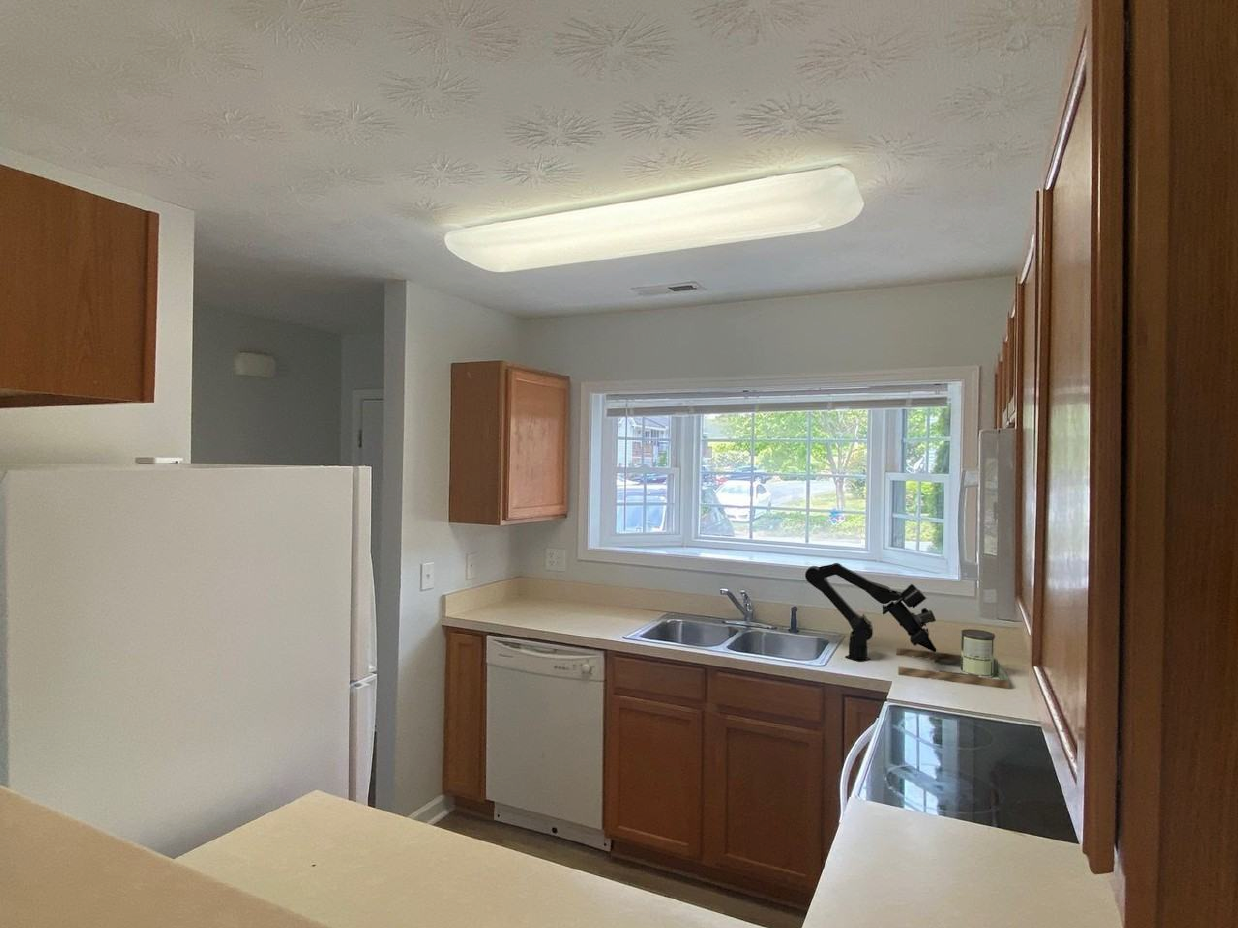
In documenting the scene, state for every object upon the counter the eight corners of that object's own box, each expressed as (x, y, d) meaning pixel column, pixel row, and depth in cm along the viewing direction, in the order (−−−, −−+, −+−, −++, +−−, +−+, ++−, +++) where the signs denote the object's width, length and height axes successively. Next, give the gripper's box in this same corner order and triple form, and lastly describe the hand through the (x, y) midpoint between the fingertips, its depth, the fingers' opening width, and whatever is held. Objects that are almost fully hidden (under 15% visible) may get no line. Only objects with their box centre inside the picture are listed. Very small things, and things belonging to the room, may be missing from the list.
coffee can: (954, 668, 241) (955, 628, 241) (982, 669, 241) (983, 629, 241) (970, 677, 231) (971, 636, 231) (1000, 678, 231) (1001, 637, 231)
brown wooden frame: (898, 674, 232) (898, 665, 232) (896, 654, 257) (896, 646, 257) (1008, 689, 220) (1008, 679, 220) (995, 666, 245) (995, 657, 245)
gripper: (923, 607, 233) (957, 643, 229) (920, 597, 250) (951, 631, 247) (897, 626, 236) (930, 663, 232) (896, 615, 253) (926, 649, 250)
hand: (935, 651), depth 240 cm, fingers closed
